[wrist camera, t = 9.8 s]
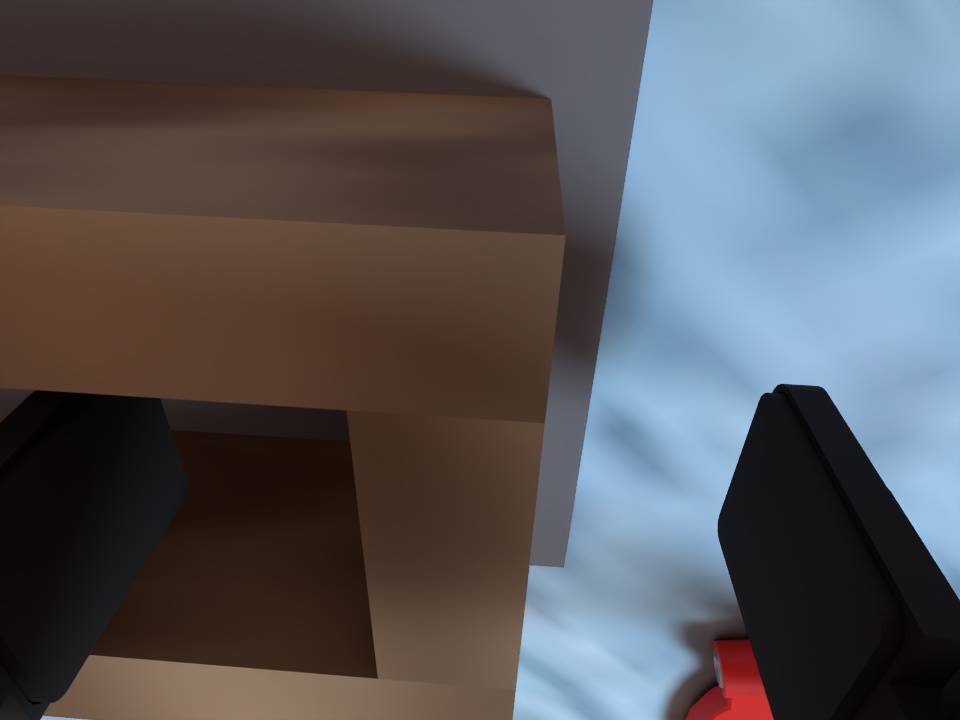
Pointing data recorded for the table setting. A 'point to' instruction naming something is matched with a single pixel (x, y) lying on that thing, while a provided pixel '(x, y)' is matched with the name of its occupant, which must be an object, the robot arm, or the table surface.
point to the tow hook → (733, 686)
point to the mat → (406, 69)
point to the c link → (300, 378)
